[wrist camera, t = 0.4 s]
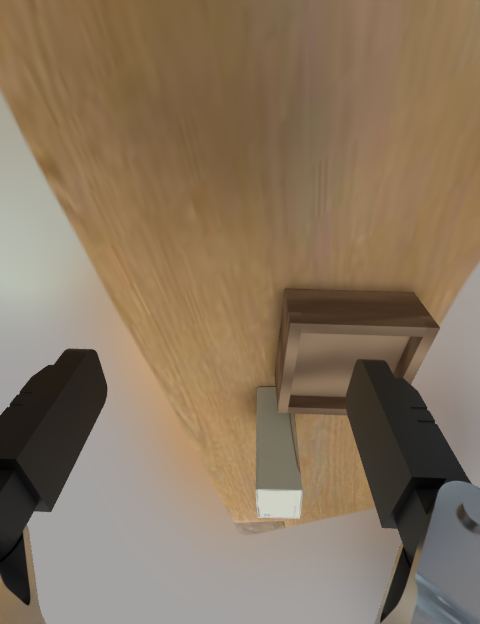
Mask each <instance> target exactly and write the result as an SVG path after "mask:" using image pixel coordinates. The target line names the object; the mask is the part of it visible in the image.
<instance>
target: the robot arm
mask: <svg viewBox="0 0 480 624" xmlns="http://www.w3.org/2000/svg"><path fill="white" fill-rule="evenodd" d="M106 397H107V384H106V380H105V377H104V374H103V370H102V367H101V364H100V361H99V358H98V354H97V352H96V351H95V350H93V349H67V350H65V351H64V352H63V353H62V355H61V356H60V357H59V359H58V360H57V361H56V363H55V364H54V365H48V366H46V367H45V368H43V369H42V370H41V371H39V372H38V373H37V374H35V375H34V376H32V377H31V378H30V380H29V381H28V382H27V383H26V385H25V386H24V387H23V388H22V389H21V391H20V394H19V395H17V396H16V397H15V398H14V399H13V401H12V402H11V403H10V407H7V408H6V409H5V411H4V412H3V413H2V414H1V415H0V624H46V623H45V621H44V618H43V616H42V614H41V610H40V607H39V602H38V594H37V587H36V580H35V572H34V565H33V557H32V550H31V542H30V535H29V529H28V526H27V523H28V521H29V519H30V517H31V515H32V514H33V512H34V511H41V512H51V511H52V509H53V507H54V504H55V503H56V501H57V499H58V497H59V495H60V493H61V491H62V489H63V487H64V485H65V483H66V481H67V479H68V477H69V474H70V472H71V471H72V469H73V467H74V464H75V463H76V461H77V458H78V456H79V454H80V452H81V450H82V448H83V446H84V444H85V442H86V440H87V438H88V436H89V434H90V432H91V430H92V428H93V426H94V424H95V422H96V420H97V418H98V416H99V414H100V412H101V410H102V408H103V406H104V404H105V401H106ZM346 411H347V415H348V418H349V421H350V425H351V428H352V431H353V434H354V438H355V441H356V444H357V448H358V451H359V454H360V457H361V461H362V464H363V467H364V470H365V474H366V477H367V480H368V483H369V487H370V490H371V493H372V497H373V500H374V503H375V506H376V510H377V513H378V516H379V519H380V523H381V526H382V528H394V529H398V531H399V534H400V537H401V540H402V543H401V545H400V547H399V550H398V553H397V557H396V560H395V563H394V566H393V569H392V572H391V575H390V578H389V581H388V584H387V587H386V590H385V593H384V596H383V599H382V602H381V605H380V608H379V611H378V614H377V617H376V620H375V623H374V624H480V488H479V487H477V486H475V485H473V484H472V483H471V482H470V480H469V479H468V477H467V476H466V474H465V472H464V471H463V469H462V467H461V465H460V464H459V462H458V460H457V458H456V457H455V455H454V453H453V451H452V450H451V448H450V446H449V444H448V443H447V441H446V439H445V437H444V436H443V434H442V432H441V431H440V429H439V427H438V425H437V424H435V420H434V418H433V417H432V415H431V413H430V412H429V411H428V410H427V406H426V404H425V403H424V401H423V399H422V398H421V396H420V394H419V393H418V391H417V390H416V389H415V388H414V387H413V386H411V385H410V384H409V383H408V382H407V381H406V380H405V379H404V378H395V377H394V375H393V373H392V371H391V369H390V367H389V365H388V364H387V362H386V361H385V360H374V359H358V360H357V361H356V363H355V366H354V369H353V373H352V376H351V379H350V383H349V386H348V390H347V393H346Z"/></svg>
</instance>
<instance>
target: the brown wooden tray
mask: <svg viewBox="0 0 480 624" xmlns="http://www.w3.org/2000/svg"><path fill="white" fill-rule="evenodd" d="M439 329H440V327H439V326H438V324H437V323H436V322H435V320H434V319H433V318H432V316H431V315H430V314H429V312H428V311H427V310H426V308H425V307H424V305H423V304H422V303H421V301H420V300H419V299H418V297H417V296H416V295H415V293H412V292H379V291H346V290H313V289H285V294H284V302H283V311H282V319H281V327H280V336H279V344H278V352H277V361H276V369H275V384H276V398H277V412H278V413H298V414H325V415H347V411H346V393H347V390H348V386H349V383H350V379H351V376H352V373H353V369H354V366H355V363H356V361H357V360H358V359H374V360H385V361H386V362H387V364H388V365H389V367H390V369H391V371H392V373H393V375H394V377H395V378H404V379H405V380H406V381H407V382H408V383H409V384H410V385H411V383H412V381H413V379H414V377H415V375H416V374H417V372H418V370H419V368H420V366H421V364H422V362H423V360H424V358H425V356H426V354H427V352H428V350H429V348H430V347H431V345H432V343H433V341H434V339H435V337H436V335H437V333H438V331H439Z"/></svg>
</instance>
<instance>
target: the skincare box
mask: <svg viewBox="0 0 480 624" xmlns="http://www.w3.org/2000/svg"><path fill="white" fill-rule="evenodd" d="M256 505H257V512H258V517H259V518H295V519H299V518H300V514H301V506H302V483H301V474H300V463H299V453H298V443H297V434H296V424H295V414H294V413H278V412H277V398H276V387H258V388H257V428H256Z"/></svg>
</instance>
